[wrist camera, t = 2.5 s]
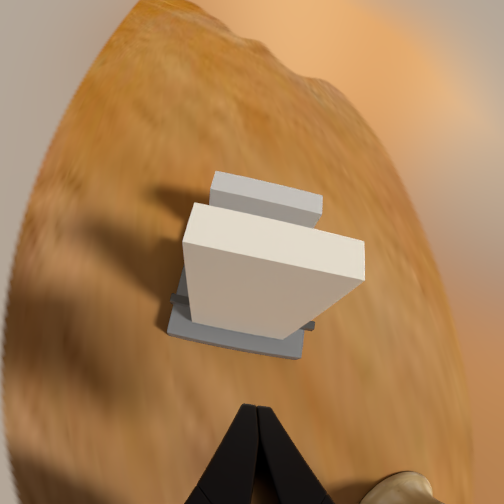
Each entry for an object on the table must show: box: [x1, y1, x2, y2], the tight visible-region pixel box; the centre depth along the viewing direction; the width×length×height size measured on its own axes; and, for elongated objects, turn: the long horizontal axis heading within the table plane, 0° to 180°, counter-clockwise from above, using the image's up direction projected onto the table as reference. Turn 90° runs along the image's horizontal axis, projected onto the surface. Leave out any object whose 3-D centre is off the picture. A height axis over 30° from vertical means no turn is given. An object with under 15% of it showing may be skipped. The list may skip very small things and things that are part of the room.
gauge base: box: [167, 171, 323, 360], centre depth 19 cm, size 10×9×6 cm
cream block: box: [170, 202, 365, 340], centre depth 15 cm, size 2×9×11 cm, turn 81°
